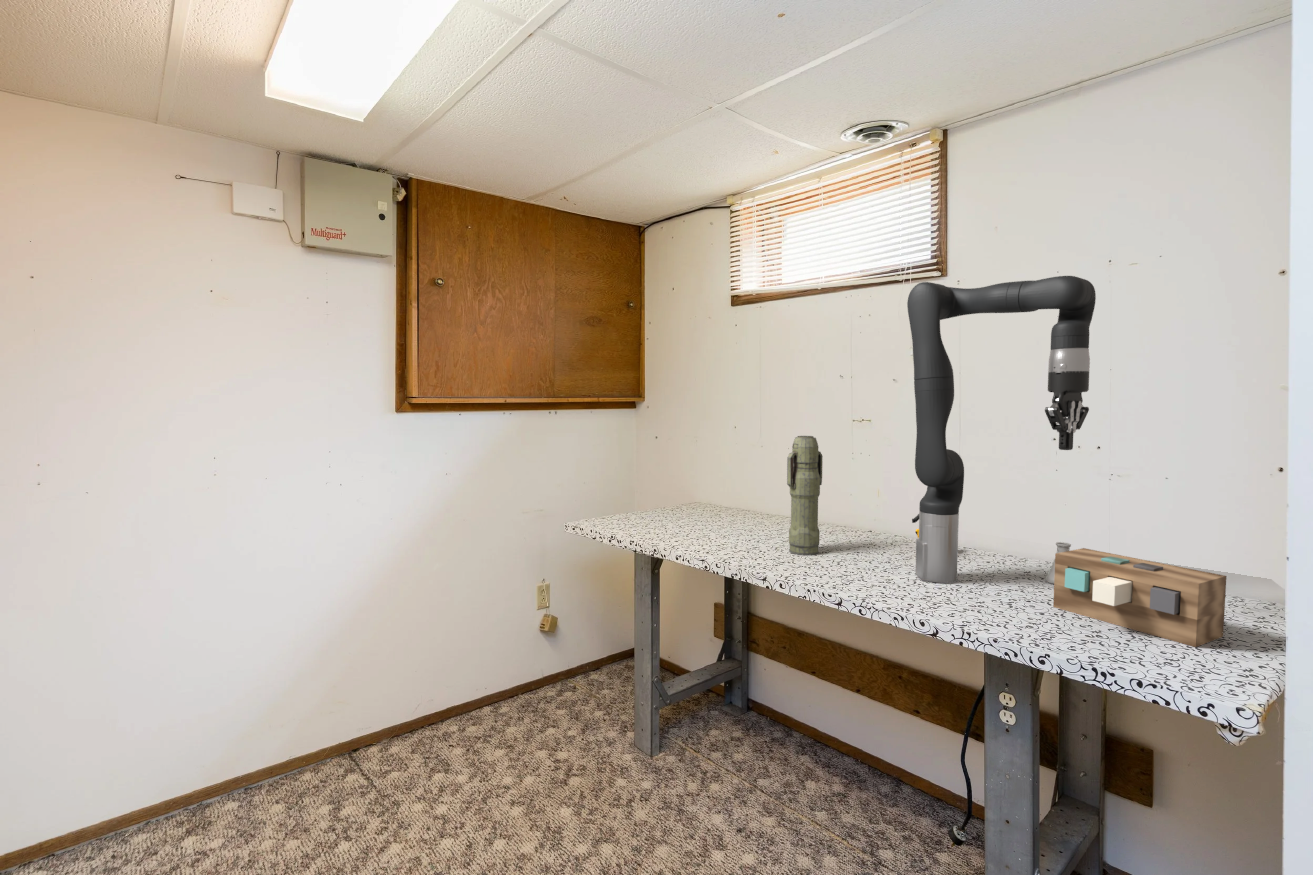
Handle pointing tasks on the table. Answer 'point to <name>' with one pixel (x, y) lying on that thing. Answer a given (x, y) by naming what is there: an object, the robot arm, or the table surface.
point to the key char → (1165, 600)
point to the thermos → (804, 495)
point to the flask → (1060, 548)
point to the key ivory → (1112, 591)
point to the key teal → (1077, 579)
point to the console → (1146, 596)
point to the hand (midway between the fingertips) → (1065, 449)
